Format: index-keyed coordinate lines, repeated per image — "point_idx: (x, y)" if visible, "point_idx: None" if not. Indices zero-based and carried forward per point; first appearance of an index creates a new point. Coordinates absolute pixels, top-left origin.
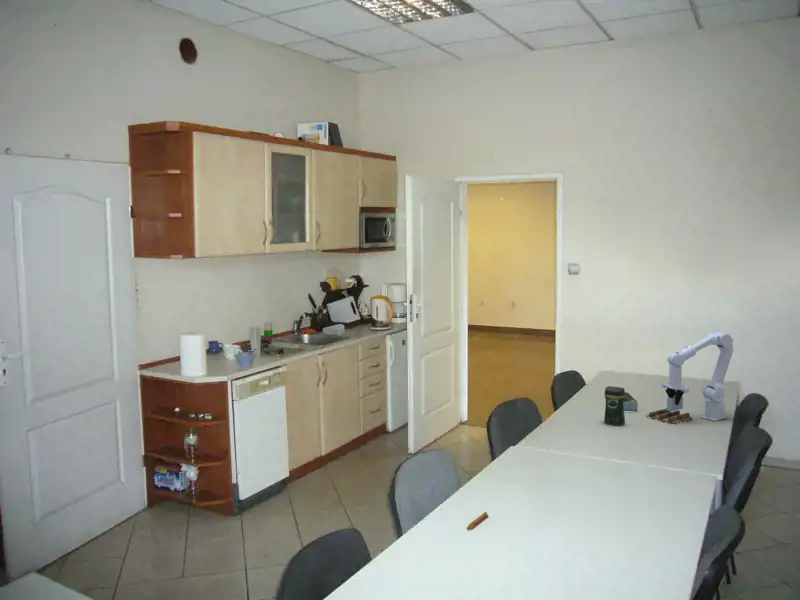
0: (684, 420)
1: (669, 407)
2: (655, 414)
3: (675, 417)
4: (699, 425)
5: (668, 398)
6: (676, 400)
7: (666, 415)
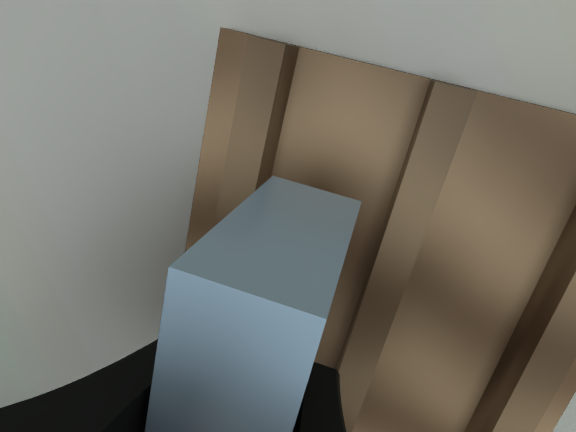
0: (188, 242)
1: (293, 202)
2: (574, 230)
3: (230, 154)
4: (42, 204)
5: (297, 346)
6: (123, 358)
7: (389, 216)
